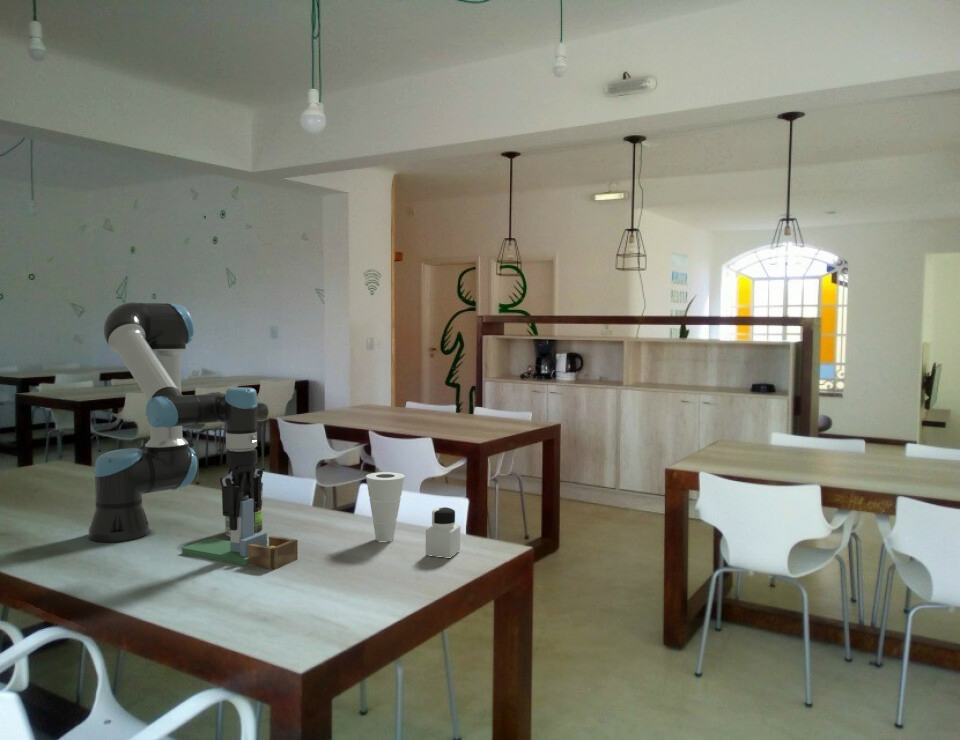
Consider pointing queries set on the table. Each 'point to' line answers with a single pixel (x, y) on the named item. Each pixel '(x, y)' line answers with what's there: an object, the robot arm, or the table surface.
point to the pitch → (215, 551)
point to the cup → (385, 502)
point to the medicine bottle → (443, 533)
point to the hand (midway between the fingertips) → (242, 539)
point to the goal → (273, 553)
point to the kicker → (247, 528)
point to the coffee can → (257, 519)
